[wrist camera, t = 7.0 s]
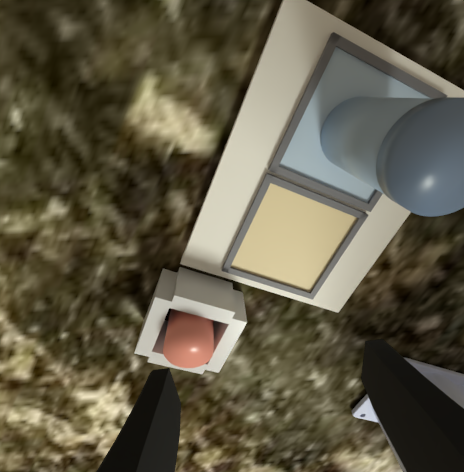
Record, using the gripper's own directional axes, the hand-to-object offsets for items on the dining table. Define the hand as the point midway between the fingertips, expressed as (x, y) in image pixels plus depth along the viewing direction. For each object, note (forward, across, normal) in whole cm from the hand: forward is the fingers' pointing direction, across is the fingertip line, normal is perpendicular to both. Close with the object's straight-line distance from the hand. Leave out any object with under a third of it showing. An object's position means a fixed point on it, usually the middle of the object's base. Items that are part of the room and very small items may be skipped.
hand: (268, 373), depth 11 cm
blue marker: (+9, -6, -6) cm, 13 cm away
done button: (+9, +4, +4) cm, 11 cm away
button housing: (+9, +4, +4) cm, 11 cm away
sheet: (+9, -5, -3) cm, 11 cm away
